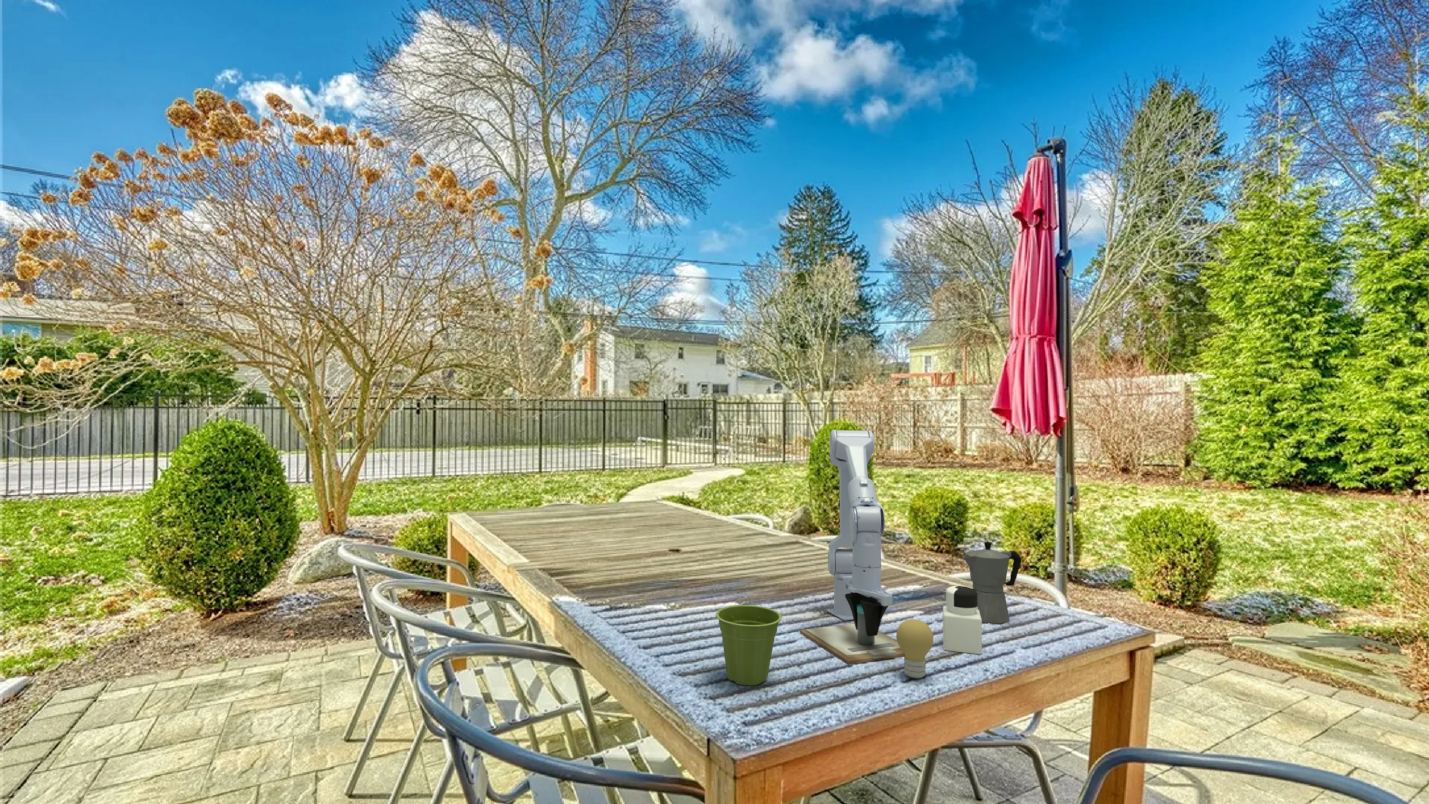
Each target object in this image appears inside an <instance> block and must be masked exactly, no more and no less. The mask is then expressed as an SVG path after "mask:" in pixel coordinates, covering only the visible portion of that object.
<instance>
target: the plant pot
mask: <svg viewBox="0 0 1429 804" xmlns="http://www.w3.org/2000/svg"><path fill="white" fill-rule="evenodd" d="M715 617H716V618H717V620H718V625H719V629H720V632H721V639H722V648H723V654H724V655H723V656H724V663H725V670H726V676H727V679H728V680H729V681H731V682H735V683H736V684H737V685H740V686H750V687H751V686H757V685H760V684H761V683H763V682H764V683H765V682H766V681H767V680H768V677H769V671H770V666H771V660H772V654H773V650H774V649H773V648H774V643H775V637H776V634H777V632H778V627H779V624H780V622H782V620H783V616H782V614H781V612H779V611H778V610H776V609H772V608H769V607H766V606H761V605H750V604H735V605H729V606H724V607H722V608H720V609H718V610H716V612H715Z"/></svg>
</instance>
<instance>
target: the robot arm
mask: <svg viewBox="0 0 1429 804" xmlns="http://www.w3.org/2000/svg"><path fill="white" fill-rule="evenodd" d="M874 450H875V437H874V433H873V432H872V431H871V430H870V429H869V430H868V429H867V430H842V429H841V430H840V429H838V430H837V429H832V430H831V431H830V433H829V460H830V464H831V465H834V466H836V467H837V470H838V473H839V474H838V475H839V476H838V477H839V529H840V530H839V535H837V536H835V537H834V538H833V539H832V540H831V541H830V542H829V544H828V551H827V553H828V554H827V567H828V573H829V574H830V575H831V576H833V607H832V608H827V609H826V612H828V613H830V614H831V615H833V616H835V617H837V618H839V619H841V620H843V621H851V620H853V623H855V627H856V630H858V612H857V605H858V604H861V606H862V608H863V612H864V616H865V626H866V633H867V636H876V635H877V634H878V631H880V630H879V629H880V625H881V622H882V619H883V617H884V615H885V612H886V611H887V609H888V608H889V606H893V594H891V593H888V591H886V590H885V589H884V588H883V587H882V535H884V532H885V529H886V528H885V526H886V518H885V510H884V507H883V506H882V503H881V502H880V501H879V500H878V496H877V491H876V486H875V483H874V481H873V480H872V479H871V478H869V477H868V464H869V462H870V460H871V458H872V456H873V454H874Z"/></svg>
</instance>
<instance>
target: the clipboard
mask: <svg viewBox="0 0 1429 804" xmlns="http://www.w3.org/2000/svg"><path fill="white" fill-rule="evenodd" d="M800 632H801V633H802V634H803V635H802V634H801V633H800ZM799 633H800V634H801V635H802V636H804V635H805V636H804V637H806V638H807V639H809V638H810V639H811V640H810V639H809V640H810V641H811V642H813V641H814V642H813V643H814V644H817V645H818V646H819V647H821V648H822V649H824V650H825V651H827V652H829V653H830V654H832V655H833V656H834V657H836V658H838V659H839V660H841V661H842V662H844V663H845V664H846V665H848V666H849V665H855V664H856V665H857V664H860V663H861V664H862V663H867V662H874V661H881V660H888V659H894V658H895V659H896V658H902V657H903V658H904V657H905V654H904V652H903V651H902V650H901V648H900V646H899V644H898V642H897V639H895V638H893V637H891V636H889V635H887V634H885V633H883V632H881V631H880V630H878V634H877V635H876V636H875V643H874V644H872V645H864V644H860V643H858V630H856V627H855V623H854V622H853V623H846V624H836V625H830V626H821V627H820V626H819V627H812V628H805V629H804V628H803V629H800V630H799Z"/></svg>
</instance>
